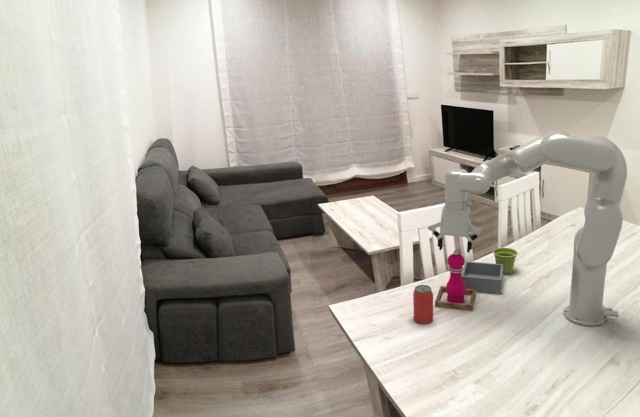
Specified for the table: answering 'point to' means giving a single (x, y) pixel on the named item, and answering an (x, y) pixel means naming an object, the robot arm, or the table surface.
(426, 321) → the beer can
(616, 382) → the table surface
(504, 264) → the plant pot
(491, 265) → the bin
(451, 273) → the pepper mill
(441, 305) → the brown wooden picture frame
